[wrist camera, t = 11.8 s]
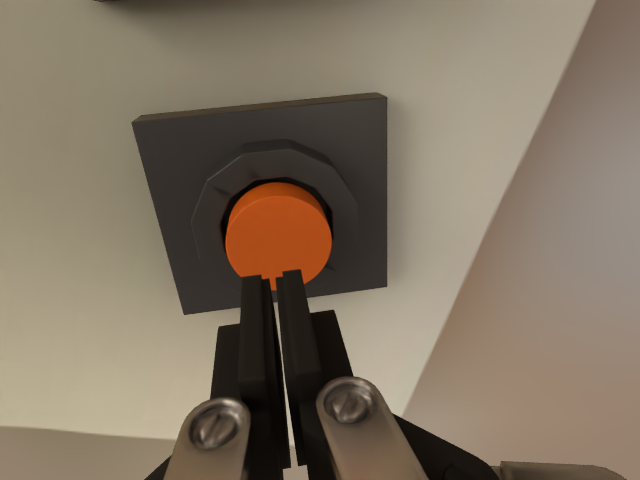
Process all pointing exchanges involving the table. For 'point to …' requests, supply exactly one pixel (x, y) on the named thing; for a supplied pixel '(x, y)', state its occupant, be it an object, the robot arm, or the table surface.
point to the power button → (278, 233)
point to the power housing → (266, 167)
